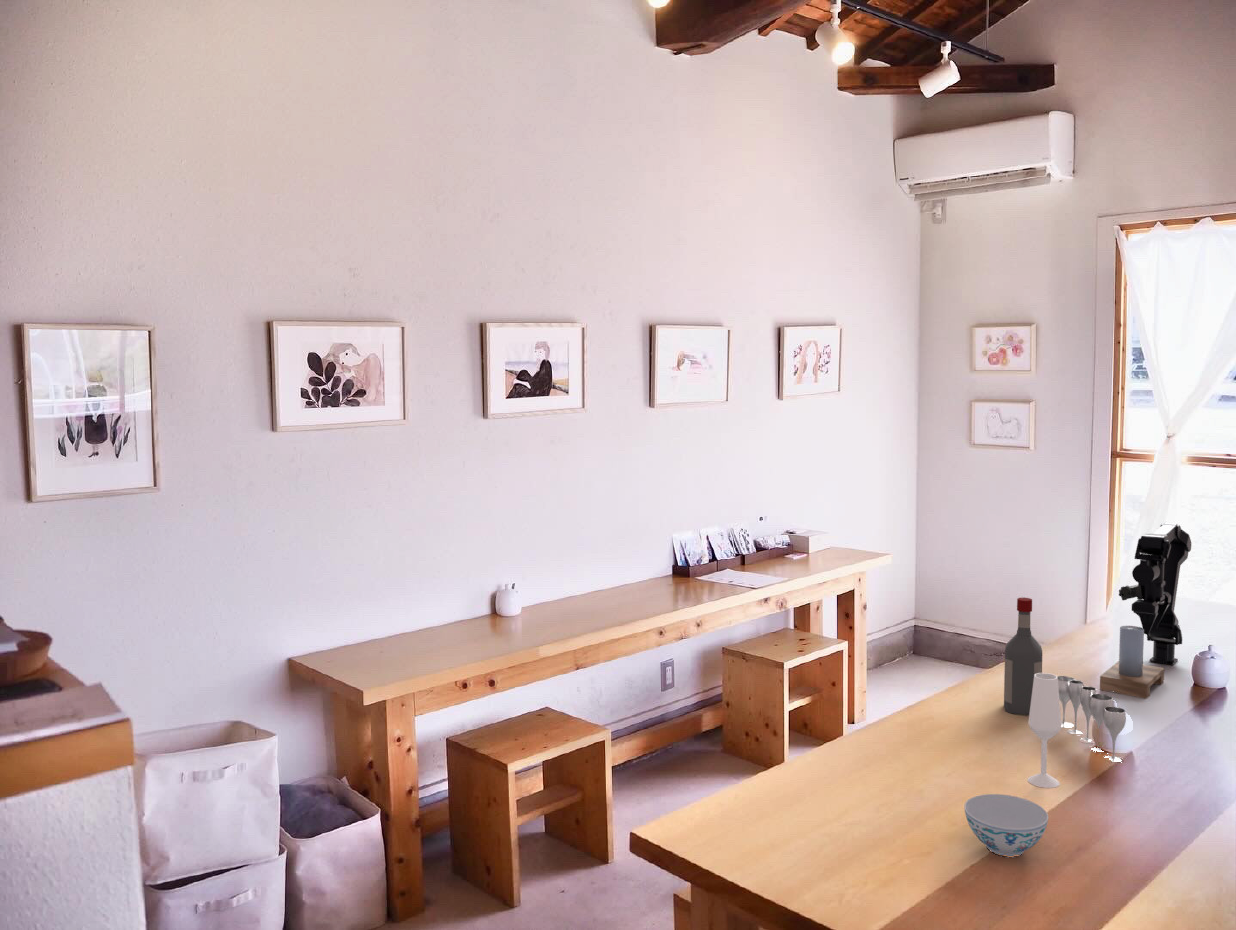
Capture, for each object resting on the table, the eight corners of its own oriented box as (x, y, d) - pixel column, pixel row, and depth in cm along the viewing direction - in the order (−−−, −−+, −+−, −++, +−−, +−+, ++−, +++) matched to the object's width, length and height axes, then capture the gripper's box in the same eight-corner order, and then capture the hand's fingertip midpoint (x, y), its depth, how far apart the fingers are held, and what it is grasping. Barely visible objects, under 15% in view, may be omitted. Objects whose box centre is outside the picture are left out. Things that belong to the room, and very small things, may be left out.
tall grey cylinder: (1116, 670, 291) (1117, 625, 289) (1139, 671, 289) (1140, 626, 288) (1121, 676, 285) (1122, 630, 283) (1145, 677, 283) (1146, 631, 282)
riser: (1118, 674, 300) (1118, 660, 299) (1163, 681, 292) (1164, 668, 291) (1099, 689, 286) (1100, 676, 286) (1146, 698, 278) (1147, 684, 278)
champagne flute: (1058, 777, 228) (1061, 672, 226) (1061, 789, 222) (1063, 682, 220) (1026, 774, 231) (1028, 670, 228) (1027, 786, 224) (1030, 679, 222)
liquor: (1003, 713, 269) (1005, 601, 266) (1004, 702, 278) (1006, 594, 274) (1041, 717, 266) (1043, 604, 263) (1040, 706, 274) (1043, 596, 271)
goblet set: (1131, 762, 236) (1132, 707, 234) (1106, 764, 235) (1108, 708, 234) (1068, 720, 264) (1070, 670, 262) (1047, 721, 263) (1048, 671, 262)
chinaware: (951, 833, 203) (951, 796, 202) (1023, 829, 204) (1024, 792, 203) (984, 871, 188) (985, 831, 187) (1062, 866, 189) (1063, 826, 189)
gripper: (1131, 569, 308) (1129, 620, 310) (1113, 580, 294) (1111, 633, 296) (1172, 573, 301) (1170, 625, 302) (1155, 585, 287) (1153, 639, 288)
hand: (1150, 630), depth 297 cm, fingers open, 9 cm apart
